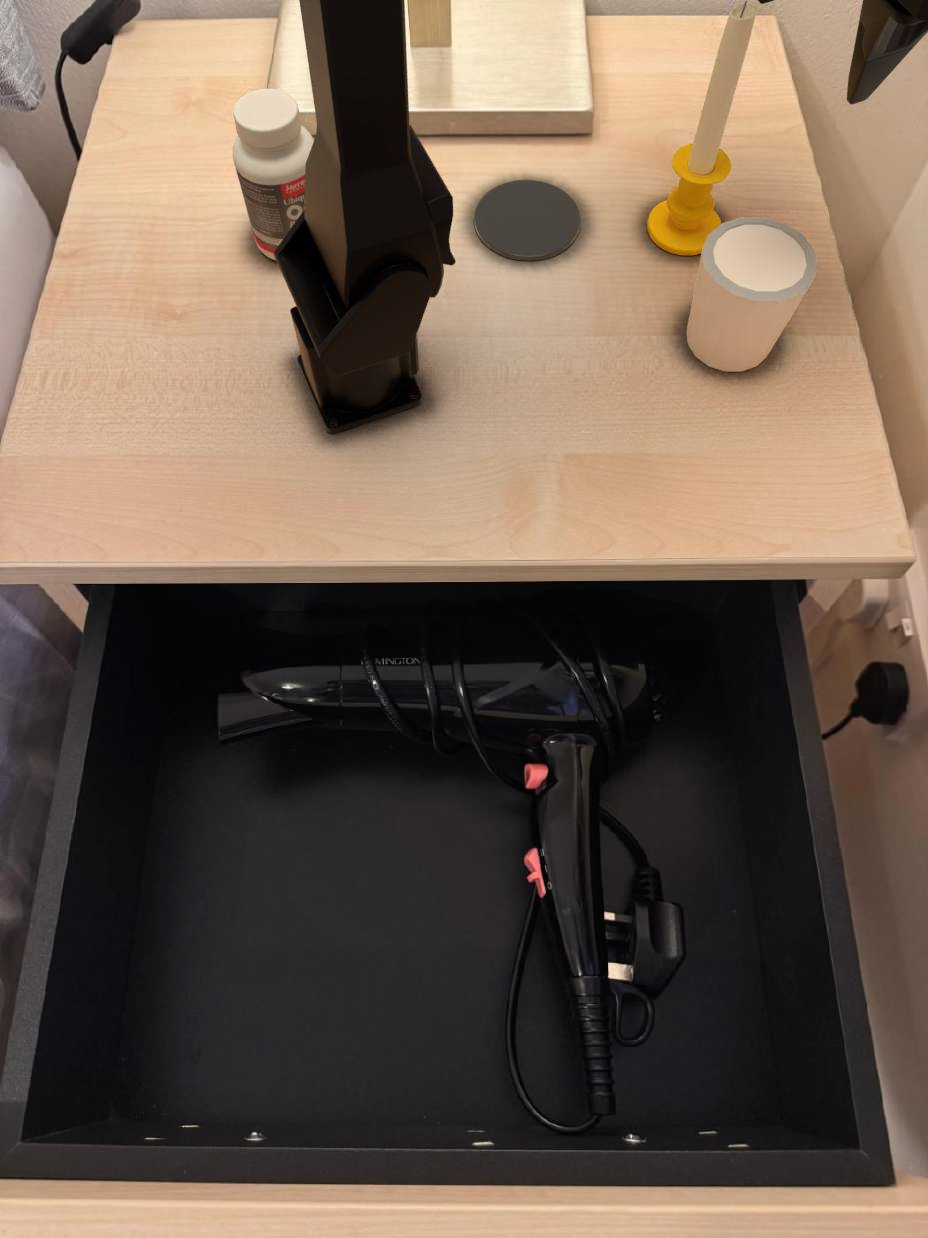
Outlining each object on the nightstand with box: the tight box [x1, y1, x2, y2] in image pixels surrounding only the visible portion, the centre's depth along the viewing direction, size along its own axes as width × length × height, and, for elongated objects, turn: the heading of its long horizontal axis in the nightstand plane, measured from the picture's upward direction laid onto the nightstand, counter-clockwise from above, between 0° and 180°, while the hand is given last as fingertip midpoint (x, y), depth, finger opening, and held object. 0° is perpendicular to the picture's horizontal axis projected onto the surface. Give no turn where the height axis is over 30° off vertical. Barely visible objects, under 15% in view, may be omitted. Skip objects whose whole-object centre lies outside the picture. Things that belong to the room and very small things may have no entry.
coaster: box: [473, 179, 581, 262], centre depth 63 cm, size 8×8×1 cm
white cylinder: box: [685, 216, 819, 372], centre depth 56 cm, size 7×7×7 cm
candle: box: [646, 0, 758, 256], centre depth 56 cm, size 5×5×16 cm
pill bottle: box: [232, 88, 314, 261], centre depth 58 cm, size 5×5×10 cm
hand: (809, 48), depth 48 cm, fingers open, 9 cm apart
